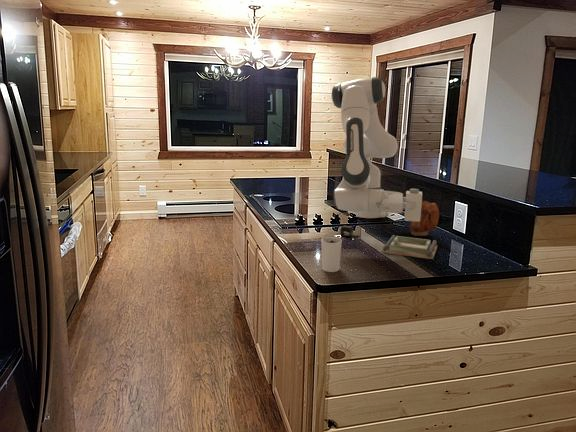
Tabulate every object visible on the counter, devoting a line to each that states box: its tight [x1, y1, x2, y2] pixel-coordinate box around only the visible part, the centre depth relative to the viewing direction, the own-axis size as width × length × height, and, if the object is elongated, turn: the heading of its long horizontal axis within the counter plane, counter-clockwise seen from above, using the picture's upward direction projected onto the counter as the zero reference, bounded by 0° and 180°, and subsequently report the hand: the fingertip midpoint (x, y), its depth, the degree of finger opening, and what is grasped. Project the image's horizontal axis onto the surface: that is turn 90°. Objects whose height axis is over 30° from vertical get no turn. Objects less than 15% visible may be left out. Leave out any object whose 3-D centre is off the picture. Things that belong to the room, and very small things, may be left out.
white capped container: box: [403, 188, 423, 222], centre depth 170 cm, size 6×6×11 cm
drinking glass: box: [320, 236, 343, 273], centre depth 153 cm, size 7×7×10 cm
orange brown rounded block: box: [408, 199, 440, 237], centre depth 189 cm, size 15×8×15 cm, turn 22°
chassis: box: [381, 234, 438, 260], centre depth 174 cm, size 17×18×3 cm
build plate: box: [333, 224, 360, 241], centre depth 191 cm, size 12×7×5 cm, turn 57°
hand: (415, 203), depth 169 cm, fingers closed on white capped container, 5 cm apart
